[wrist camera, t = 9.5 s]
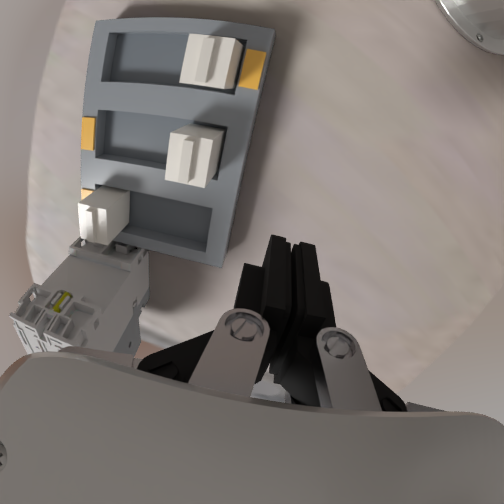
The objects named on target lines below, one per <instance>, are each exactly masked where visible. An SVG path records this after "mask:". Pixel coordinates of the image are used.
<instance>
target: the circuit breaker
mask: <svg viewBox="0 0 504 504" xmlns="http://www.w3.org/2000/svg"><path fill="white" fill-rule="evenodd" d="M82 241H83V246H82V247H81V242H82ZM69 254H70V255H69V256H68V257H67V258H66V259H65V260H64V261H63V263H62V264H61V265H60V266H59V267H58V268H57V269H56V270H55V271H54V272H53V273H52V274H51V275H50V276H49V278H48V279H47V280H46V281H45V282H44V283H43V284H42V285H38V284H36V283H34V284H33V285H32V286H31V288H30V289H28V291H27V292H26V293H25V294H24V295H23V296H22V297H21V299H20V300H19V302H18V303H19V307H18V308H17V310H16V312H15V313H10V315H9V316H10V318H12V319H13V321H14V324H13V325H14V327H15V329H16V332H17V334H18V336H19V337H20V340H21V342H22V344H23V346H24V348H25V350H26V351H27V353H28V354H31V353H36V352H47V351H51V352H58V351H59V350H60V349H62V348H65V347H68V346H78V347H84V348H90V349H96V350H102V351H109V352H117V353H124V354H132V355H133V358H134V356H135V354H136V352H137V349H138V347H139V345H140V343H141V338H140V328H139V316H140V314H141V312H142V311H141V307H145V305H146V303H147V301H148V299H149V297H150V292H149V250H146V249H144V248H140V247H138V250H137V249H136V246H133V245H129V244H125V243H121V242H117V241H114V240H112V241H111V242H110V243H109V245H108V246H107V245H104V244H100V243H97V242H95V243H92V242H88V240H86V239H82V238H81V236H80V237H79V238H78V239H77V240H76V241H75V242H74V243H73V244H72V245H71V246H70V247H69ZM32 293H33V295H34V300H33V301H32V302H31V301H30V298H29V297H30V296H31V294H32Z"/></svg>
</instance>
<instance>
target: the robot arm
mask: <svg viewBox="0 0 504 504" xmlns="http://www.w3.org/2000/svg"><path fill="white" fill-rule="evenodd" d="M435 2H436V3H437V5H438V7H439V8H440V10H441V11H442V13H443V14H444V15H445V17H446V18H447V20H448V21H449V22H450V23H451V24H452V25H453V27H454V28H455V29H456V30H457V31H458V32H459V33H460V34H461V35H462V36H464V37H465V38H466V39H467V40H468V41H470V42H471V43H472V44H474V45H475V46H477V47H478V48H480V49H482V50H484V51H486V52H489V53H492V54H499V55H504V0H435ZM269 363H270V367H269V373H271V374H274V383H276V384H280V385H281V386H282V387H283V388H284V389H285V390H286V391H285V396H284V399H285V403H282V402H276V401H269V400H263V399H258V398H252V397H250V396H251V393H252V390H253V386H254V384H256V383H258V382H259V381H261V379H262V377H263V375H264V373H265V372H266V370H267V368H268V366H269ZM0 504H504V426H503V424H501V423H500V422H499V421H497V420H495V419H493V418H491V417H488V416H486V415H482V414H478V413H472V412H471V413H470V412H449V411H444V410H439V409H435V408H431V407H426V406H422V405H418V404H414V403H410V402H407V403H406V404H405V403H404V402H403V400H402V399H401V398H400V397H399V396H398V395H397V394H395V393H394V392H393V391H392V390H391V389H390V388H388V387H387V386H386V385H385V384H384V383H383V382H382V381H380V380H379V379H378V378H377V377H376V376H375V375H373V374H372V373H371V372H370V371H369V370H368V368H367V365H366V362H365V359H364V357H363V354H362V351H361V349H360V346H359V344H358V342H357V340H356V339H355V338H354V337H353V336H352V335H351V334H350V333H348V332H347V331H345V330H343V329H340V328H336V323H335V317H334V311H333V305H332V299H331V293H330V287H329V284H328V283H327V282H324V281H321V280H320V273H319V267H318V260H317V254H316V248H315V245H312V244H308V243H304V242H300V243H299V245H297V244H294V246H293V248H292V251H291V243H289V242H286V238H284V237H280V236H276V235H271V237H270V241H269V244H268V248H267V251H266V255H265V258H264V262H263V265H262V267H259V266H255V265H251V264H247V263H244V266H243V270H242V274H241V278H240V283H239V287H238V291H237V295H236V300H235V304H234V309H232V310H229V311H227V312H225V313H224V314H223V315H222V317H221V318H220V320H219V322H218V324H217V326H216V328H215V330H213V331H211V332H208V333H205V334H203V335H200V336H198V337H195V338H193V339H190V340H188V341H185V342H182V343H180V344H177V345H174V346H172V347H169V348H166V349H164V350H161V351H158V352H156V353H153V354H150V355H149V356H147V357H145V358H144V359H138V358H133V355H132V354H124V353H117V352H109V351H102V350H96V349H90V348H84V347H78V346H68V347H65V348H62V349H60V350H59V351H58V352H51V351H47V352H36V353H31V354H28V355H25V356H23V357H21V358H20V359H18V360H17V361H15V362H14V363H13V364H12V365H11V366H10V367H9V368H8V369H7V370H6V371H5V372H4V374H3V375H2V376H1V377H0Z"/></svg>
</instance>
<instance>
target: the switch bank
mask: <svg viewBox="0 0 504 504" xmlns="http://www.w3.org/2000/svg"><path fill="white" fill-rule="evenodd" d="M189 34H201V35H211V36H220V37H228V38H235V39H236V40H238V41H239V42H240V43H241V44H242V45H243V46H244V47H245V49H244V53H243V57H242V61H241V66H240V70H239V74H238V79H237V83H236V88H232V89H221V88H215V87H208V86H201V85H194V84H186V83H179V81H180V76H181V71H182V66H183V61H184V56H185V51H186V46H187V42H188V37H189ZM275 36H276V33H275V29H271V28H266V27H261V26H255V25H249V24H242V23H235V22H227V21H218V20H208V19H195V18H172V17H145V18H123V19H110V20H99V21H96V23H95V28H94V32H93V37H92V43H91V48H90V54H89V61H88V68H87V75H86V83H85V92H84V103H83V116H82V134H81V194H82V200H83V199H84V198H86V197H87V196H88V195H90V194H91V193H92V192H94V191H95V190H97V189H98V188H99V187H101V186H102V185H105V186H110V187H115V188H120V189H125V190H130V211H129V223H128V224H127V225H126V226H125V227H124V228H123V229H122V231H121V232H120V233H119V234H118V235H117V236H116V237H115V238H114V239H113V240H114V241H117V242H121V243H125V244H129V245H133V246H136V247H140V248H144V249H148V250H152V251H156V252H159V253H163V254H167V255H171V256H175V257H179V258H183V259H187V260H191V261H195V262H199V263H203V264H207V265H211V266H215V267H219V268H222V265H223V262H224V259H225V256H226V253H227V249H228V244H229V239H230V234H231V229H232V224H233V220H234V215H235V210H236V205H237V201H238V196H239V191H240V187H241V182H242V177H243V173H244V168H245V164H246V159H247V155H248V150H249V146H250V141H251V137H252V132H253V128H254V124H255V119H256V115H257V111H258V106H259V102H260V98H261V94H262V89H263V85H264V81H265V77H266V73H267V69H268V65H269V60H270V56H271V52H272V48H273V44H274V40H275ZM190 123H191V124H197V125H203V126H209V127H214V128H219V129H225V130H226V132H225V137H224V142H223V147H222V152H221V158H220V163H219V168H218V171H217V172H216V174H215V175H214V176H213V178H212V179H211V180H210V182H209V183H208V184H207V186H206V187H205V188H202V187H197V186H193V185H188V184H183V183H178V182H173V181H168V180H165V173H166V164H167V155H168V147H169V139H170V132H172V131H175V130H177V129H179V128H181V127H183V126H185V125H188V124H190Z"/></svg>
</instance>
